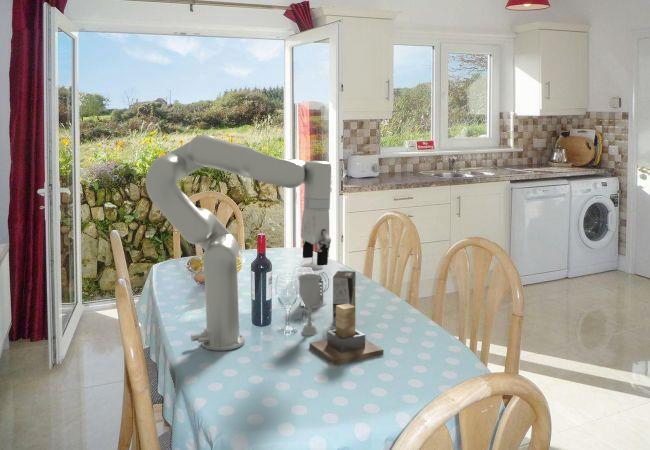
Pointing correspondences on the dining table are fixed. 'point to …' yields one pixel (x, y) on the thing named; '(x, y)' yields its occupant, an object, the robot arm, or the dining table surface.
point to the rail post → (345, 320)
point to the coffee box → (343, 290)
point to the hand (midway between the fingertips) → (314, 261)
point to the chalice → (309, 298)
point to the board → (345, 357)
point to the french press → (319, 300)
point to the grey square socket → (346, 341)
